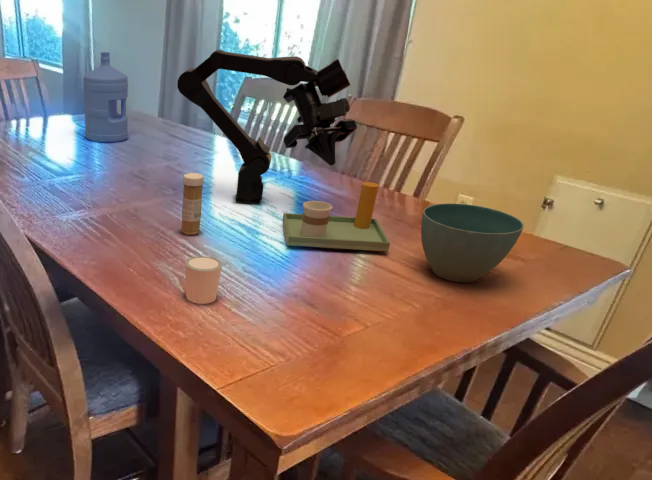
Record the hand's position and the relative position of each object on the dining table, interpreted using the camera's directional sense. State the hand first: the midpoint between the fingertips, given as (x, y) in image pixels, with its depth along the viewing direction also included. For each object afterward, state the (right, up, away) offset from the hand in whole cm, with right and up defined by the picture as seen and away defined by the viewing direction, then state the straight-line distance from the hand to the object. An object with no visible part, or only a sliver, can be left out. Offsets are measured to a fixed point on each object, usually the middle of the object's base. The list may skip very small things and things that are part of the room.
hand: (332, 164), depth 147 cm
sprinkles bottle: (-35, -17, -2) cm, 39 cm away
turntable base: (-2, -19, -4) cm, 19 cm away
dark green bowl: (+19, -30, -20) cm, 40 cm away
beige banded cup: (-7, -19, -7) cm, 21 cm away
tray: (-2, -19, -4) cm, 19 cm away
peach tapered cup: (-34, -36, -31) cm, 58 cm away
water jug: (-60, +35, +77) cm, 103 cm away
